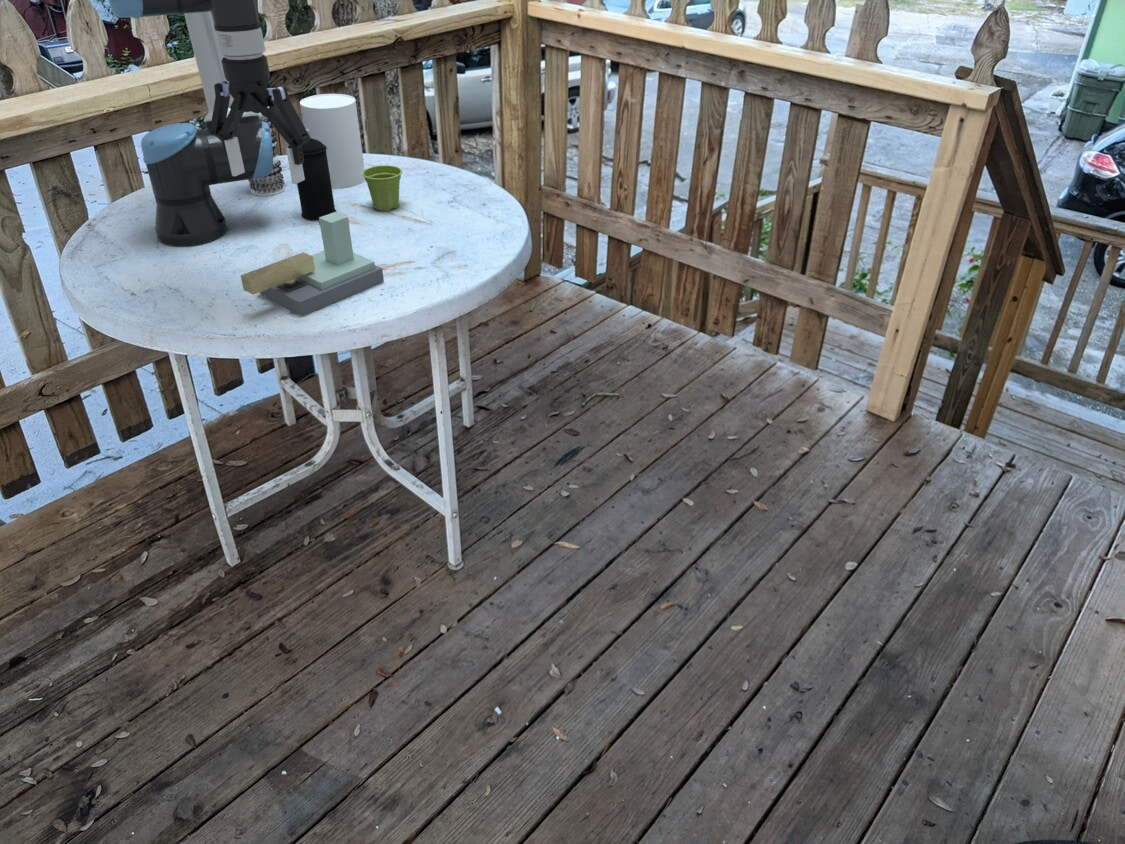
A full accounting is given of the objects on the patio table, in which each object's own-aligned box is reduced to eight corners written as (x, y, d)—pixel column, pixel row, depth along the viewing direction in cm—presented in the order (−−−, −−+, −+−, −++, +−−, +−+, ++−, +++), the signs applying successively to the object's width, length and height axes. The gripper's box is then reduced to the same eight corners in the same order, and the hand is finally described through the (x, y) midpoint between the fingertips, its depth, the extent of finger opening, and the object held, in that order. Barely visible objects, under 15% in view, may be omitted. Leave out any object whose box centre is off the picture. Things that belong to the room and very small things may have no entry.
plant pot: (402, 214, 205) (398, 178, 200) (363, 213, 205) (358, 178, 200) (408, 199, 213) (405, 165, 208) (371, 199, 213) (366, 164, 208)
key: (245, 298, 162) (240, 275, 159) (307, 274, 171) (303, 252, 168) (254, 302, 160) (249, 280, 158) (316, 278, 169) (312, 256, 166)
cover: (286, 272, 172) (276, 222, 166) (338, 252, 180) (331, 204, 174) (322, 290, 166) (313, 239, 159) (375, 268, 174) (368, 219, 167)
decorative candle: (241, 191, 216) (219, 89, 202) (270, 181, 223) (251, 81, 208) (265, 199, 212) (244, 95, 198) (294, 188, 218) (276, 87, 204)
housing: (260, 294, 170) (257, 279, 169) (341, 262, 183) (339, 248, 181) (301, 316, 163) (298, 301, 161) (383, 281, 175) (382, 267, 174)
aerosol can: (338, 218, 202) (325, 133, 191) (302, 222, 200) (287, 136, 189) (335, 206, 209) (322, 123, 197) (300, 209, 207) (285, 126, 195)
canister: (369, 170, 230) (359, 93, 218) (360, 188, 219) (350, 108, 207) (319, 170, 230) (306, 93, 218) (307, 188, 219) (294, 108, 207)
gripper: (170, 55, 148) (200, 176, 159) (290, 64, 140) (312, 191, 152) (200, 47, 153) (227, 165, 165) (317, 55, 146) (336, 178, 157)
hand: (268, 178), depth 158 cm, fingers open, 13 cm apart
